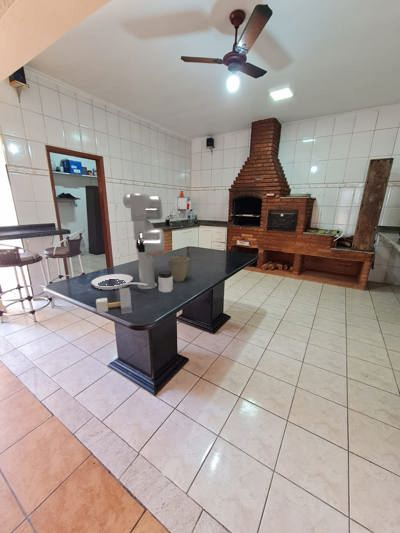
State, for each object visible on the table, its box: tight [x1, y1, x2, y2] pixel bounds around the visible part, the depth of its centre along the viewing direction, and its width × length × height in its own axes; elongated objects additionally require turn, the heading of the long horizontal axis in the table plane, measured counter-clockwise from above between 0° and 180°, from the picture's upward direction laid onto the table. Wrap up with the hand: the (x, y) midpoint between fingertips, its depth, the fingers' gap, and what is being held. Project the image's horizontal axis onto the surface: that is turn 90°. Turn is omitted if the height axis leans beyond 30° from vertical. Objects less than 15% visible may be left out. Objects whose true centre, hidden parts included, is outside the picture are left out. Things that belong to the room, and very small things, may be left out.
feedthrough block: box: [118, 287, 133, 315], centre depth 116 cm, size 16×5×9 cm, turn 21°
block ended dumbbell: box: [95, 297, 132, 313], centre depth 114 cm, size 4×16×6 cm, turn 111°
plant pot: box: [167, 256, 190, 283], centre depth 157 cm, size 15×15×16 cm
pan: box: [90, 273, 148, 291], centre depth 145 cm, size 26×44×6 cm, turn 60°
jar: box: [157, 270, 174, 293], centre depth 139 cm, size 9×8×12 cm
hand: (140, 250), depth 120 cm, fingers open, 9 cm apart
